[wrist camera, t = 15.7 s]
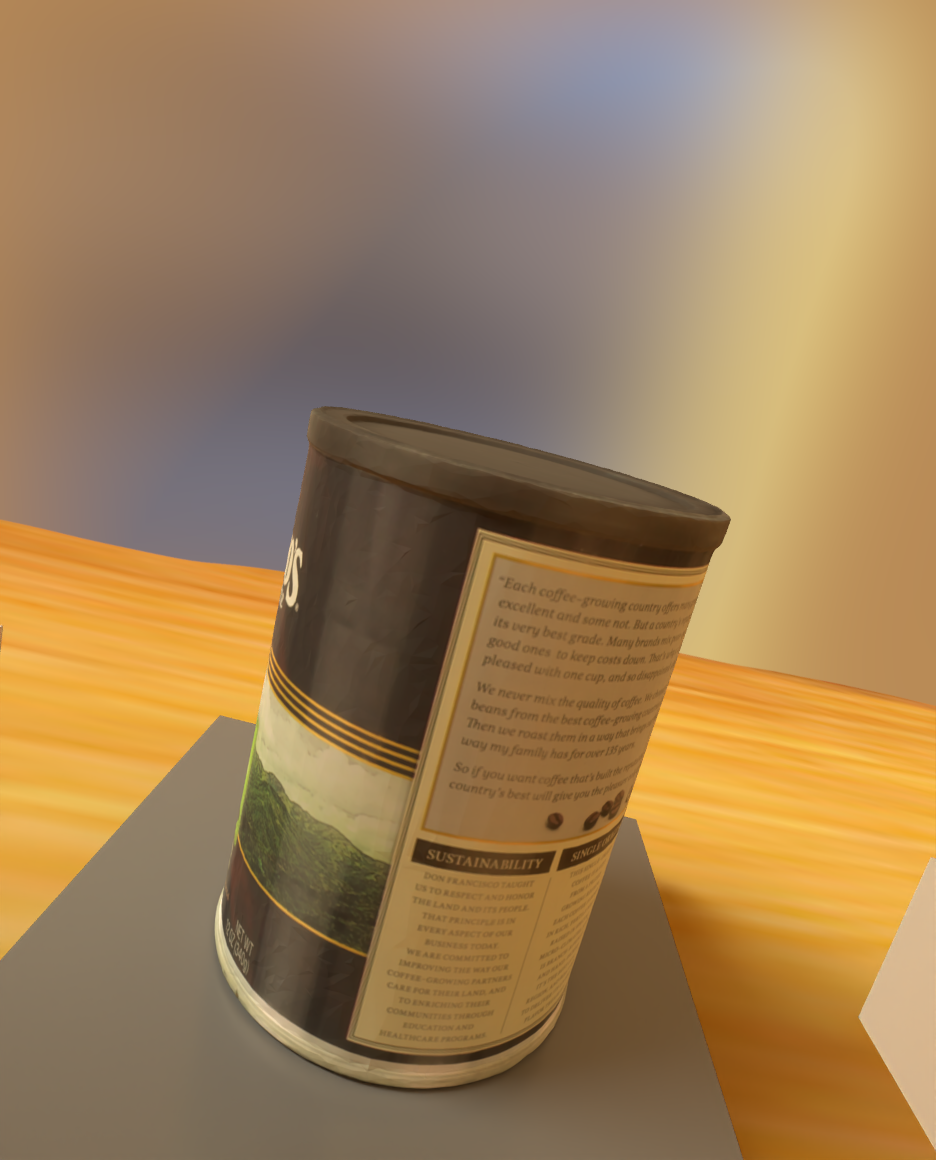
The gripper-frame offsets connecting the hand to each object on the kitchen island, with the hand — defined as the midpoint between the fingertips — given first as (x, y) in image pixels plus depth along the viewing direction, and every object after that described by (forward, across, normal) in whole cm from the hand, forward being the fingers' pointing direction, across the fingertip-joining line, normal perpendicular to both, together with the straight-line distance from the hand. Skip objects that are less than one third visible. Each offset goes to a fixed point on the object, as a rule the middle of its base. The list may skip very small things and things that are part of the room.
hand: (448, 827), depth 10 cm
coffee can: (+9, 0, -10) cm, 13 cm away
